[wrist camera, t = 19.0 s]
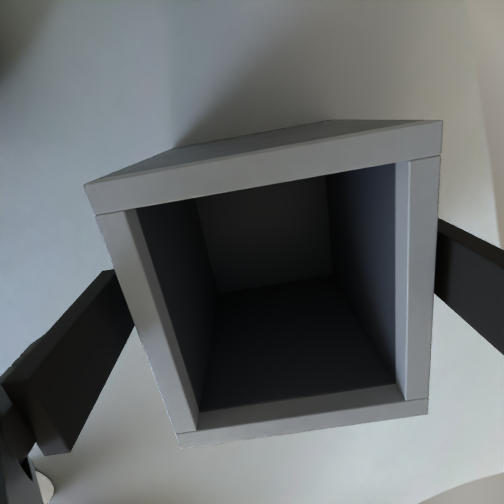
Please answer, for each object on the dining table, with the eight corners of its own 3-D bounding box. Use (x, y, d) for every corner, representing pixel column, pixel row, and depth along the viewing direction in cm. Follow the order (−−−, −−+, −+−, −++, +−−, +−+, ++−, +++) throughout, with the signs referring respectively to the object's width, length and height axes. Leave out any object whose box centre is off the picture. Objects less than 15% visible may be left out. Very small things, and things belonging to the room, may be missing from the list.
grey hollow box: (428, 414, 14) (444, 119, 9) (180, 449, 14) (82, 184, 10) (343, 278, 26) (332, 119, 21) (209, 299, 26) (171, 149, 22)
